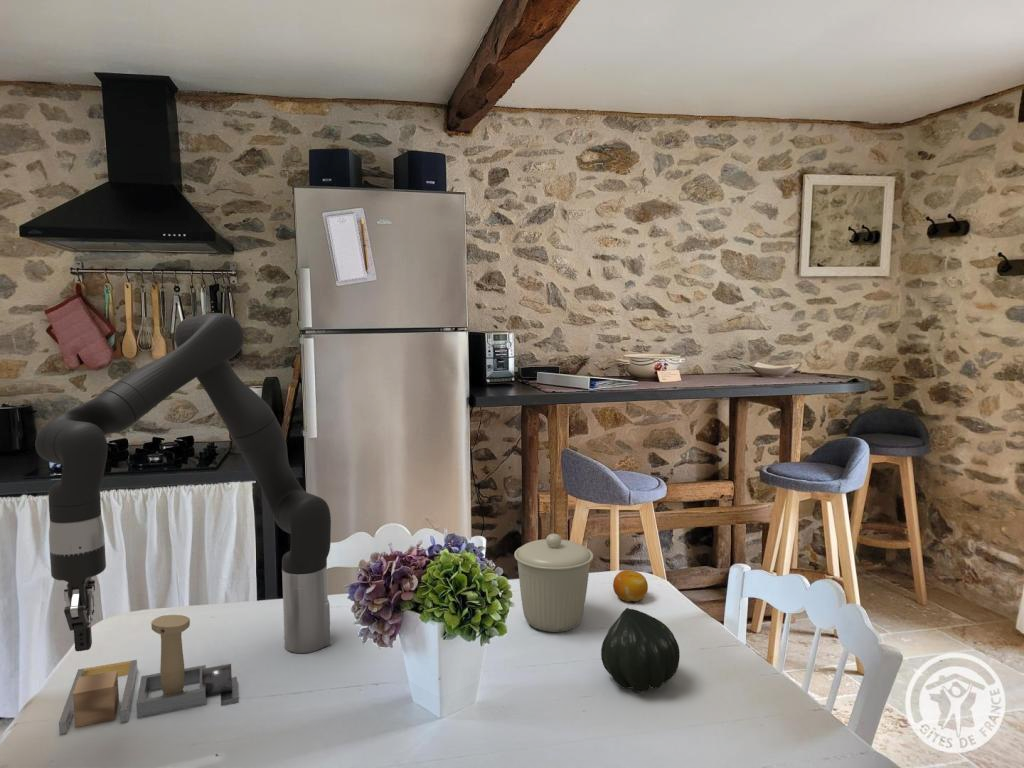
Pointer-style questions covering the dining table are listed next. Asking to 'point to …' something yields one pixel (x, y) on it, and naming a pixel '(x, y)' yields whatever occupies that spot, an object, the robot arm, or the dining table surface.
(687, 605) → the dining table surface
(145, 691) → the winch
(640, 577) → the fruit
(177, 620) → the handle
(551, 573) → the canister
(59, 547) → the robot arm
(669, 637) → the squash
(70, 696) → the bay
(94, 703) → the tan cardboard box
